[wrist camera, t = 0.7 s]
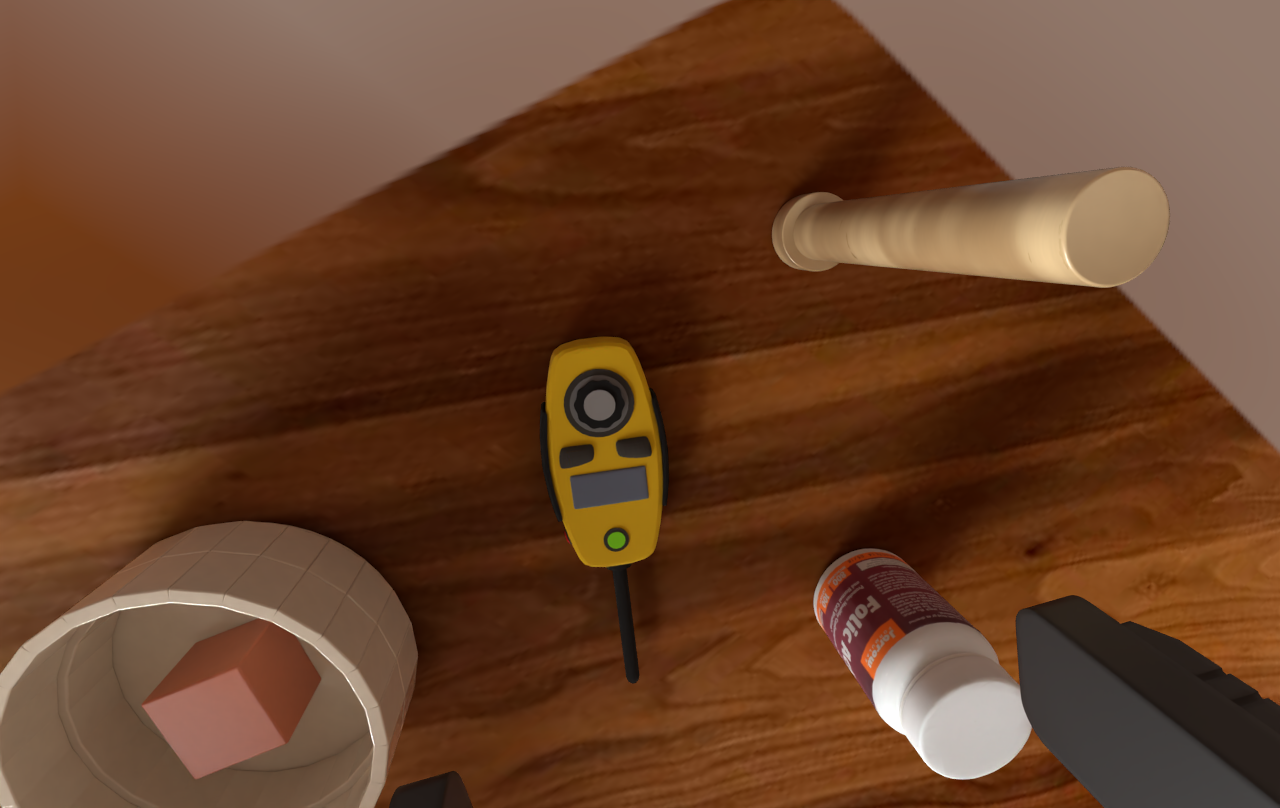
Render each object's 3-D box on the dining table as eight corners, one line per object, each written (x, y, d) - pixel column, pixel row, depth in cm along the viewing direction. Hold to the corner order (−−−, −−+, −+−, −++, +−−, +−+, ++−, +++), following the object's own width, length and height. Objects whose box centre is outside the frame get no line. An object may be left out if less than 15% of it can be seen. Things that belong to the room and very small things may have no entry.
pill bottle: (816, 546, 28) (920, 670, 20) (918, 544, 29) (1059, 664, 21) (804, 641, 29) (898, 795, 21) (902, 638, 30) (1030, 786, 22)
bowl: (36, 584, 24) (-109, 681, 19) (336, 468, 25) (277, 532, 19) (204, 813, 28) (121, 950, 22) (467, 709, 28) (446, 819, 23)
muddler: (762, 209, 24) (1028, 175, 11) (831, 183, 24) (1183, 115, 11) (783, 280, 25) (1056, 333, 11) (849, 254, 25) (1200, 277, 11)
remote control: (659, 335, 23) (694, 691, 27) (651, 328, 25) (685, 661, 29) (522, 352, 23) (578, 711, 26) (525, 343, 24) (577, 680, 28)
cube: (194, 642, 25) (138, 705, 22) (280, 608, 25) (237, 666, 22) (240, 711, 26) (194, 781, 23) (323, 678, 26) (288, 744, 23)
